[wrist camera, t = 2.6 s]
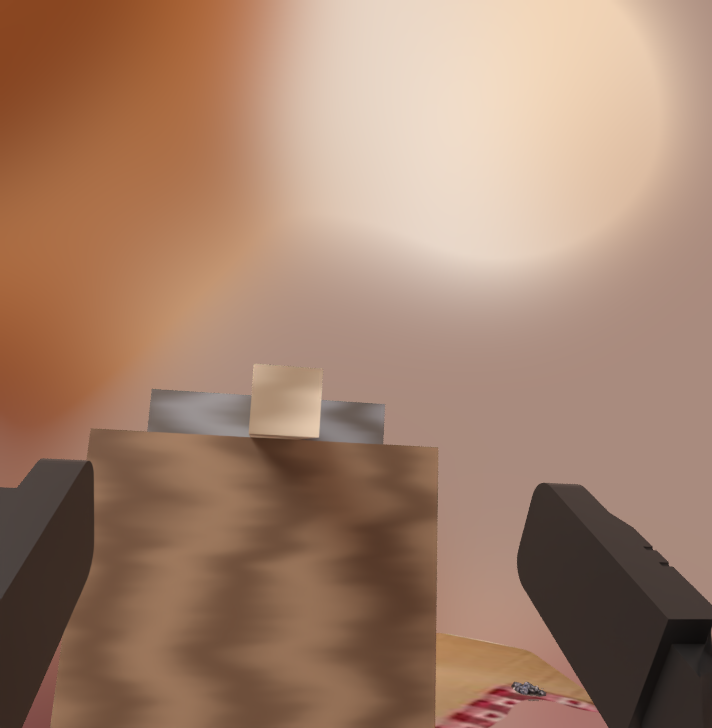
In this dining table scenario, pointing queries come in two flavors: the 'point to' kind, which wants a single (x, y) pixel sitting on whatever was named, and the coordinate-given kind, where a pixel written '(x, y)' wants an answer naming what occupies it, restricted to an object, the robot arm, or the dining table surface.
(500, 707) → the dining table surface
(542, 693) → the blueberries
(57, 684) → the stand
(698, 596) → the robot arm
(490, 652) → the dining table surface
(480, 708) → the dining table surface
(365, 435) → the scraper
